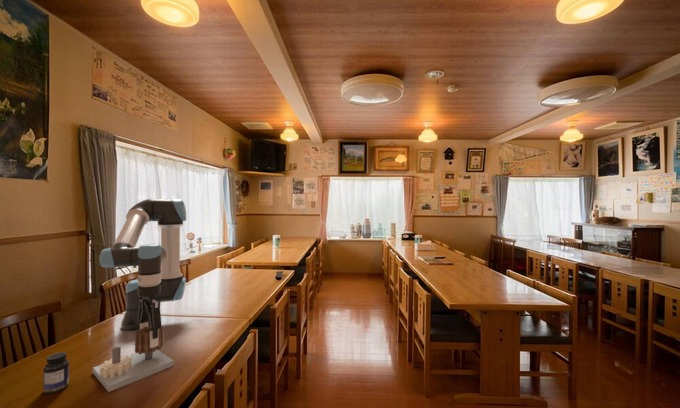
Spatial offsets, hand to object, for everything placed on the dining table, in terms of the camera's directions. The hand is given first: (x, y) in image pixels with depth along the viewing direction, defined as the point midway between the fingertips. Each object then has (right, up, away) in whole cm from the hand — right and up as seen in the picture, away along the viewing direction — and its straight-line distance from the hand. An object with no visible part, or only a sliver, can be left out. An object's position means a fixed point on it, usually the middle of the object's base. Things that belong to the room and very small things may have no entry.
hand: (148, 342), depth 113 cm
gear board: (-3, -8, -4) cm, 9 cm away
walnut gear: (0, -2, 0) cm, 2 cm away
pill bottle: (-21, -8, -16) cm, 27 cm away
